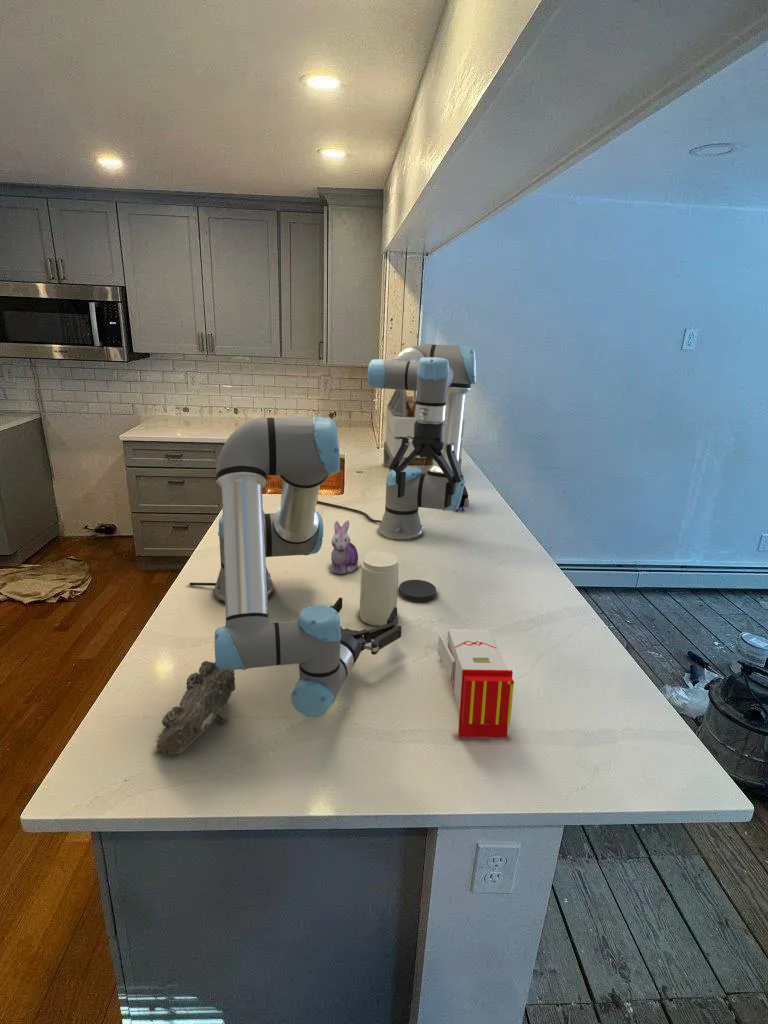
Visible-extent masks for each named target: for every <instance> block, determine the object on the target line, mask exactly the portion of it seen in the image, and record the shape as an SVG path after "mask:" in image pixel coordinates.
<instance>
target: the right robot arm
mask: <svg viewBox="0 0 768 1024" xmlns="http://www.w3.org/2000/svg"><path fill="white" fill-rule="evenodd" d="M367 367H368V368H367V382H368V385H369V386H370V387H371V388H374V389H380V390H383V389H385V390H396V389H399V390H406V391H413V392H415V393H416V396H415V397H416V407H415V419H416V420H417V421H415V422H414V438H410V436H406V437H403V438H402V443H401V446H400V448H399V450H398V452H397V454H396V455H395V457H394V459H393V461H392V463H391V465H390V467H388V468H389V472H388V473H387V475H386V482H385V504H384V505H385V507H384V508H385V509H384V513H383V515H382V519H381V520H379V519H373V518H372V517H371V516H370V515H368V514H367V513H366V512H364V511H363V510H359V509H356V508H351V507H347V506H344V505H343V506H342V505H338V504H334V503H330V502H324V501H322V500H321V501H320V500H317V504H321V505H325V506H329V507H334V508H338V509H343V510H346V511H351V512H355V513H358V514H361V515H364V517H366V518H367V520H368V521H370V522H373V523H377V524H378V523H379V525H378V533H379V534H380V535H381V536H382V537H385V538H387V539H389V540H395V541H410V540H415V539H418V538H420V537H421V536H422V535H423V525H422V524H421V518H420V515H419V508H422V509H423V508H424V509H433V510H442V511H451V512H452V511H453V512H454V511H456V510H457V511H458V509H459V508H458V507H459V505H460V501H461V498H462V494H463V490H464V486H466V485H465V484H466V478H465V476H464V474H463V471H462V467H461V468H460V465H459V462H458V461H459V451H460V441H461V440H462V438H461V431H462V421H463V419H464V412H465V411H464V410H465V400H466V395H467V393H468V392H470V391H471V387H472V385H475V384H476V382H477V363H476V352H475V349H474V348H473V347H471V346H466V345H465V346H464V345H455V344H454V345H451V344H432V343H425V344H424V343H423V344H419V345H415V346H411V347H408V348H407V347H406V348H405V349H403V350H402V351H400V352H399V354H398V355H397V356H395V357H394V356H393V357H392V358H390V359H384V358H380V359H375V358H373V359H371V360H370V361H369V364H368V366H367ZM411 443H412V445H413V446H414V448H415V449H414V450H413V451H412V452H411V454H410V455H409V456H408V457H407V458H406V459H405V460H404V461H403V462H402V463H401V464H400V465H399V463H400V461H401V459H402V458H403V456H404V454H405V452H406V450H407V449H408V447H409V445H411ZM418 455H419V456H420V457H426V458H429V459H432V458H433V464H432V465H430V466H428V468H427V473H422V469H421V468H420V467H417V466H408V465H409V464H410V463H411V462H412V461H413V460H414V459H415V458H416V457H417V456H418ZM398 465H399V466H398ZM390 469H391V471H390ZM278 487H279V489H280V490H282V485H281V486H278Z"/></svg>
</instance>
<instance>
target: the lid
mask: <svg viewBox="0 0 768 1024" xmlns="http://www.w3.org/2000/svg"><path fill="white" fill-rule="evenodd" d="M398 595H399V596H400V597H401V598H402V599H404V600H406V601H409V602H412V603H426V602H430V601H432V600H434V599H435V598H436V596H437V587H436V586H435V585H434V584H433V583H431V582H429V581H427V580H423V579H408V580H405V581H402V582H401V583H400V584H398Z"/></svg>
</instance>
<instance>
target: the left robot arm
mask: <svg viewBox="0 0 768 1024" xmlns="http://www.w3.org/2000/svg"><path fill="white" fill-rule="evenodd" d="M337 428H338V427H337V424H336V422H335V420H333V418H330V417H319V416H299V417H298V416H293V417H288V416H287V417H268V416H260V417H255V418H252V419H249V420H247V421H245V422H244V423H242V424H240V425H239V426H237V428H236V429H235V430H234V431H233V432H232V433H231V434H230V435H229V437H227V439H226V441H225V442H224V444H223V446H222V448H221V449H220V453H219V455H218V458H217V462H216V467H215V484H216V487H217V488H218V489H219V490H221V506H222V507H221V508H222V515H221V516H220V518H219V520H218V531H217V535H218V537H219V557H220V559H219V560H220V569H219V573H218V576H217V580H216V582H189V586H211V587H212V586H213V587H214V593H215V597H216V599H217V600H219V601H221V602H222V603H224V605H225V606H224V607H225V608H224V609H225V623H224V624H225V625H223V626H221V627H217V628H216V629H215V631H214V660H215V661H214V662H216V665H217V667H218V668H219V669H220V670H234V671H236V670H242V671H245V670H248V669H257V668H264V667H265V668H266V667H274V666H275V667H276V666H285V665H297V664H298V671H299V678H298V680H297V682H296V683H295V684H294V686H293V689H292V691H291V694H290V696H291V697H290V699H291V702H292V706H293V708H294V709H295V710H296V711H297V712H298V714H300V715H302V716H304V717H306V718H311V719H318V718H322V717H323V716H325V715H326V714H327V713H328V712H329V710H330V709H331V707H332V706H333V705H334V704H335V702H336V699H337V697H338V695H339V693H340V691H341V689H342V688H343V686H344V684H345V683H346V680H347V679H348V677H349V676H350V675H349V674H350V673H351V671H352V670H353V667H354V666H355V664H356V663H357V661H358V659H359V657H360V655H361V653H362V652H363V651H365V650H367V651H370V654H371V655H372V656H376V655H377V654H378V653H379V652H380V651H381V650H382V649H384V648H385V647H387V646H389V645H390V644H392V643H393V642H395V641H397V640H399V639H400V638H401V637H402V630H403V629H402V627H403V626H402V625H398V624H399V617H398V607H397V608H396V607H394V609H393V611H392V613H391V614H390V616H389V618H388V620H387V624H385V625H381V626H375V627H373V628H370V629H367V628H364V629H361V630H358V629H357V630H356V629H350V628H346V627H345V628H343V627H342V625H341V616H340V614H339V613H340V612H341V611H342V609H343V597H338V599H337V600H336V601H335V602H334V603H333V605H330V606H328V605H325V604H313V605H311V606H310V607H305V608H303V609H302V610H301V611H300V613H299V615H298V618H297V620H291V621H280V622H279V621H278V622H270V621H269V620H270V619H269V599H268V598H269V597H271V595H272V594H273V591H274V585H273V583H274V582H273V580H272V576H271V573H270V572H269V570H268V567H267V563H266V561H267V559H266V558H274V557H290V556H291V557H292V556H310V555H314V554H317V553H319V552H320V550H321V549H322V546H323V541H324V540H323V538H324V521H323V517H322V515H321V513H320V512H318V511H316V509H317V504H318V503H317V501H318V500H319V499H318V498H319V493H320V488H321V485H322V484H324V482H326V480H328V477H329V476H333V475H334V474H338V473H340V472H341V457H340V456H341V455H340V443H339V434H338V429H337ZM267 476H279V477H280V479H281V480H282V482H281V487H282V489H281V496H280V506H279V507H278V508H277V510H276V511H275V512H270V513H265V511H264V506H263V505H264V503H263V489H264V488H265V487H266V486H267V484H268V478H267Z"/></svg>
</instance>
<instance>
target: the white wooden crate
mask: <svg viewBox="0 0 768 1024" xmlns="http://www.w3.org/2000/svg"><path fill="white" fill-rule="evenodd" d="M407 394H408V393H407V390H399V389H394V392H393V394H392V395H391V398H390V400H389V402H388V404H387V405H386V413H385V414H386V415H385V423H386V428H385V438H384V442H383V466H384V467H388V468H389V467H390V465H391V463H392V461H393V459H394V457H395V455H396V454H397V452H398V450H399V448H400V446H401V443H402V438H403V437H406V436H410V438H414V422H415V421H417V420H416V419H415V407H416V396H415V395H414V396H413V395H412V396H411V395H407ZM464 429H465V419H464V418H463V421H462V431H461V441H460V451H459V461H458V462H459V465H460V468H461V469H462V461H463V460H462V453H463V442H464V441H463V440H462V439H463V438H464V431H465V430H464ZM414 449H415V448H414V446H413V445H412V443H411V445H409V447H408V449H407V450H406V452H405V454H404V456H403V458H402V459H401V461H400V463H399V465H400V464H401V463H402V462H403V461H404V460H405V459H406V458H407V457H408V456H409V455H410V454H411V452H412V451H413V450H414ZM432 464H433V458H432V459H429V458H426V457H420V456H419V455H418V456H417V457H416V458H415V459H414V460H413V461H412V462H411V463H410V464H409V465H408V466H407V467H417V466H418V467H430V466H432ZM399 465H398V466H399ZM390 471H391V469H390V468H389V472H390Z"/></svg>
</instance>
